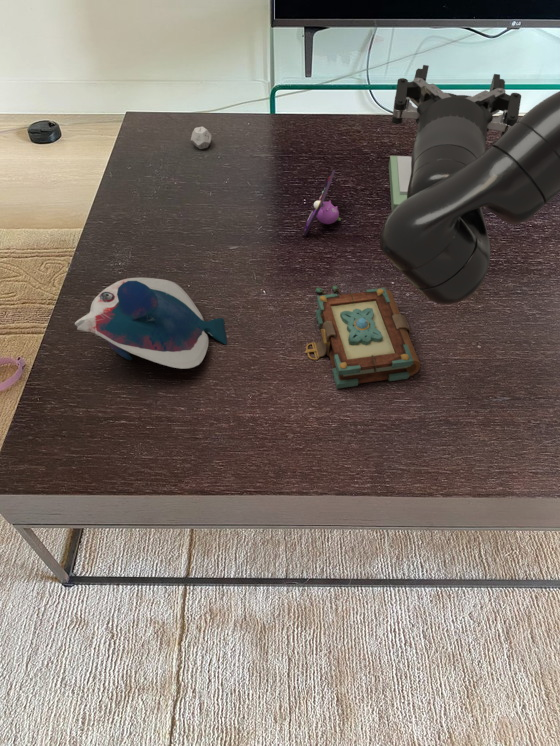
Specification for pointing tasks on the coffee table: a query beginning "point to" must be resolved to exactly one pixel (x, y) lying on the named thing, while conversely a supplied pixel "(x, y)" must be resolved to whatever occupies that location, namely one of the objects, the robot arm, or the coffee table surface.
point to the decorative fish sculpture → (152, 322)
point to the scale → (399, 178)
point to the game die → (201, 137)
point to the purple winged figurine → (323, 209)
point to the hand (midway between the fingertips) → (459, 77)
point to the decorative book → (364, 337)
